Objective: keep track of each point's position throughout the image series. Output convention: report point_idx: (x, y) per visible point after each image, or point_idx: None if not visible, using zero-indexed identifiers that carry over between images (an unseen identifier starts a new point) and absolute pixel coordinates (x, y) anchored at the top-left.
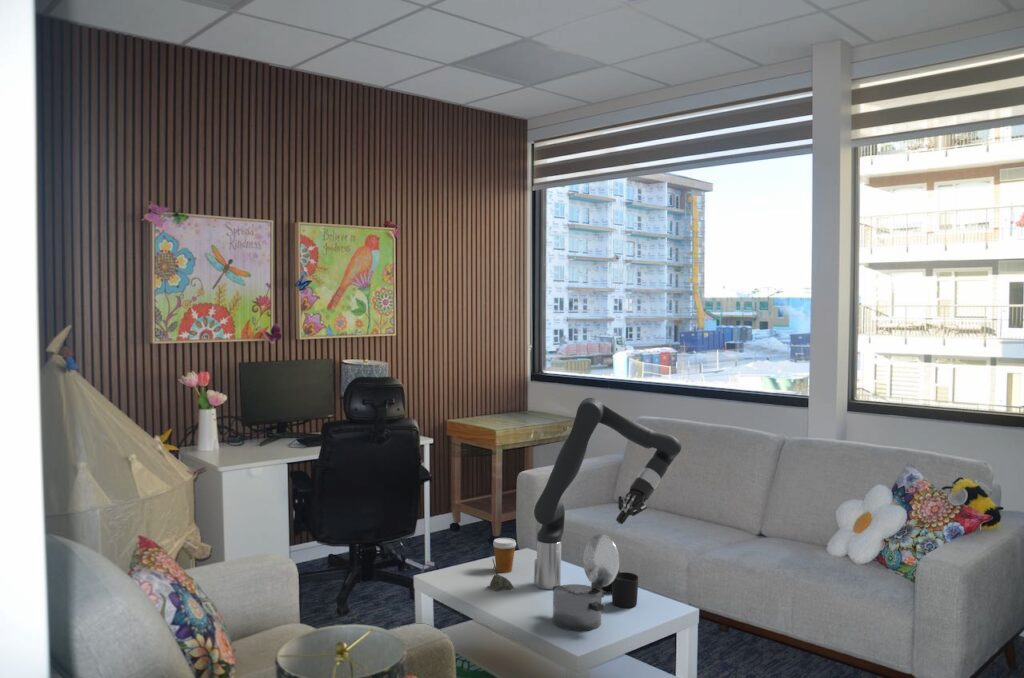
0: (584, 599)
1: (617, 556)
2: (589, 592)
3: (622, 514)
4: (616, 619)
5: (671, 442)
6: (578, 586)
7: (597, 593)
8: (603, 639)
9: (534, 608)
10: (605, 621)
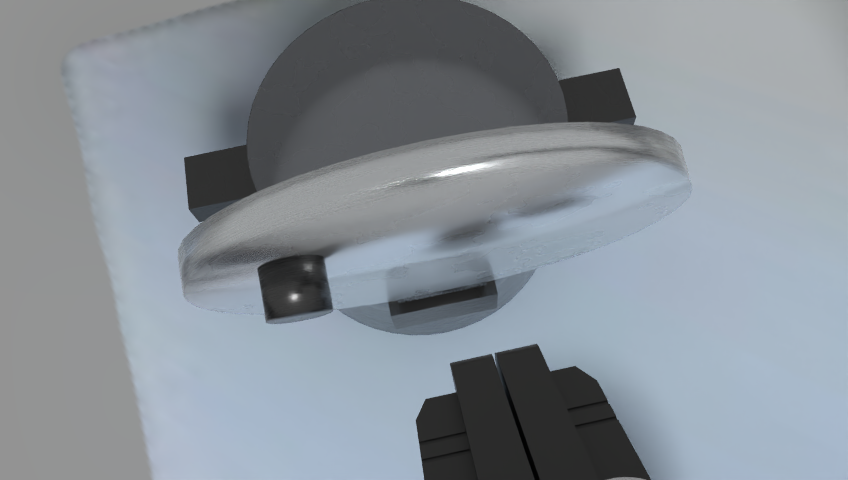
0: (262, 107)
1: (179, 262)
2: None
3: (490, 453)
4: (375, 437)
5: None
6: None
7: None
8: (161, 228)
9: (680, 89)
10: (371, 358)
